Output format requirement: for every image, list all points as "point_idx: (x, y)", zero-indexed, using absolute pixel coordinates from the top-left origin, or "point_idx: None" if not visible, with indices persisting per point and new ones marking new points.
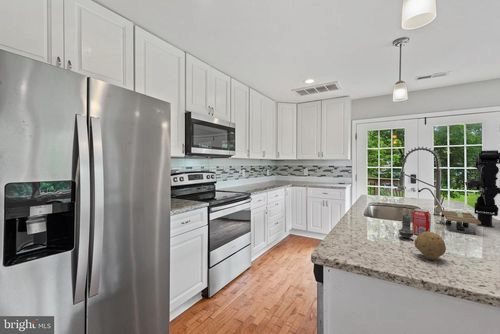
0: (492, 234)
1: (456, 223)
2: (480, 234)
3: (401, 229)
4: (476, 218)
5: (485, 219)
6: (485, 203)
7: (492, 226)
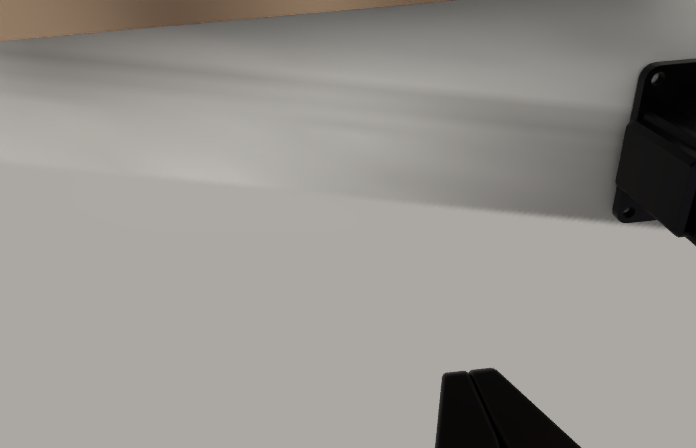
0: (204, 158)
1: None
2: None
3: None
4: (78, 33)
5: (673, 179)
6: (452, 413)
7: (618, 205)
